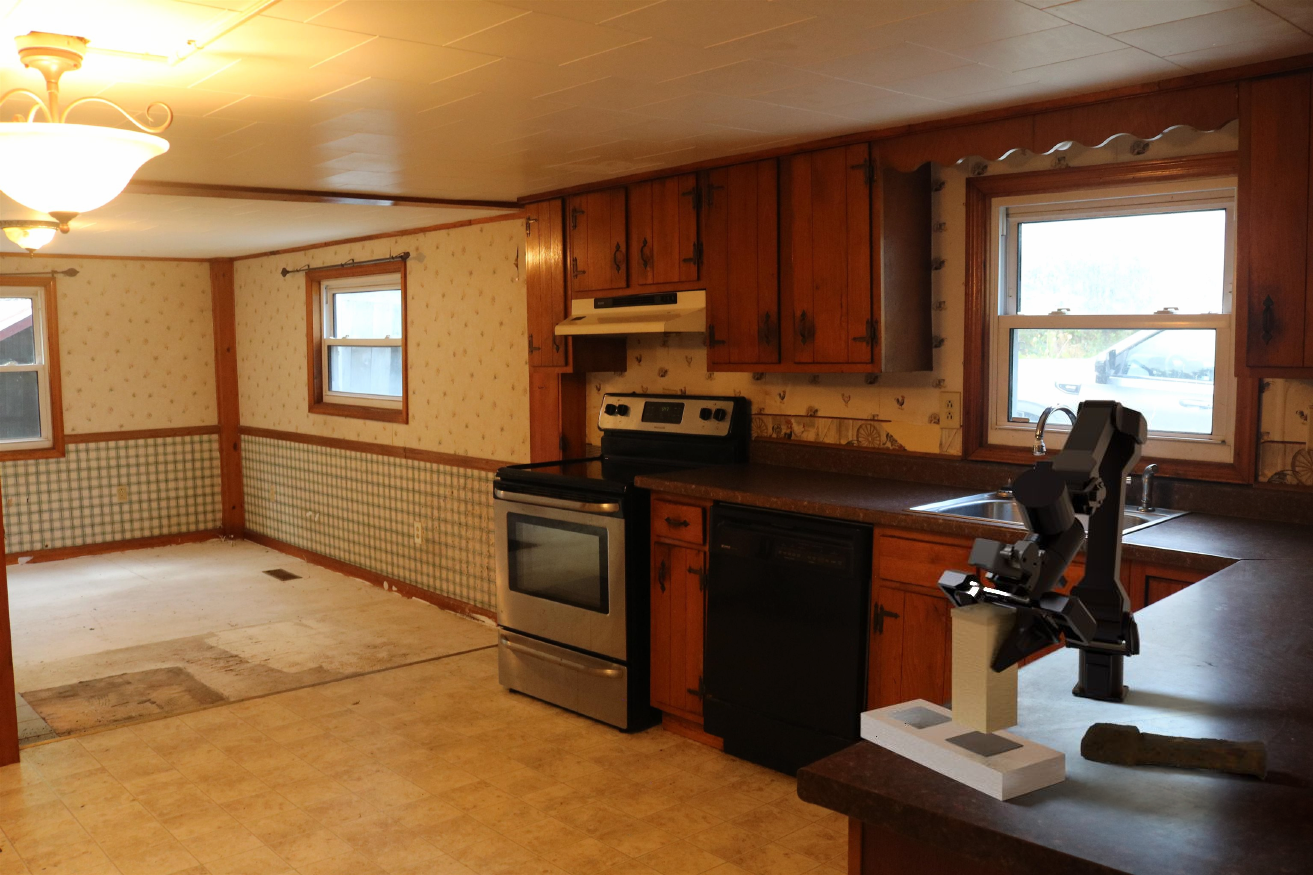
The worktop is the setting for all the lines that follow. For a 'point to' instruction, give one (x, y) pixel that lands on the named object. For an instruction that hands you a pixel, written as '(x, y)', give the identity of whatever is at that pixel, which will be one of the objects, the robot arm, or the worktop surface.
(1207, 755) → the hand tool
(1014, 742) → the white base plate
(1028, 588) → the robot arm
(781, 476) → the worktop surface
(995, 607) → the beige tall square block
